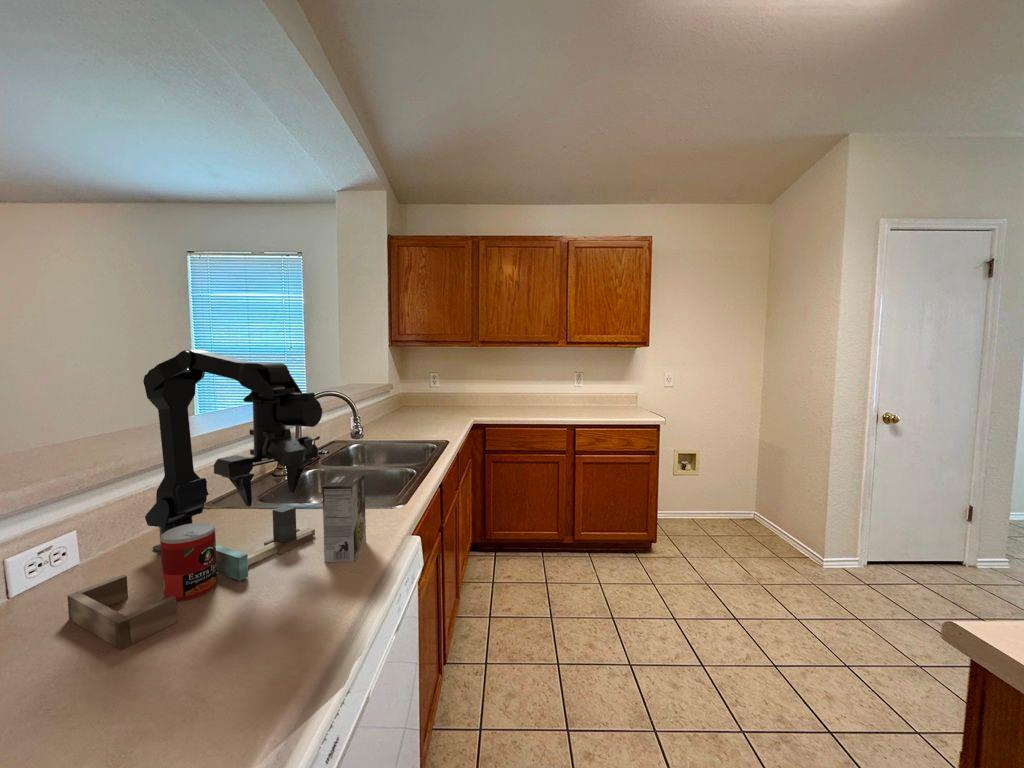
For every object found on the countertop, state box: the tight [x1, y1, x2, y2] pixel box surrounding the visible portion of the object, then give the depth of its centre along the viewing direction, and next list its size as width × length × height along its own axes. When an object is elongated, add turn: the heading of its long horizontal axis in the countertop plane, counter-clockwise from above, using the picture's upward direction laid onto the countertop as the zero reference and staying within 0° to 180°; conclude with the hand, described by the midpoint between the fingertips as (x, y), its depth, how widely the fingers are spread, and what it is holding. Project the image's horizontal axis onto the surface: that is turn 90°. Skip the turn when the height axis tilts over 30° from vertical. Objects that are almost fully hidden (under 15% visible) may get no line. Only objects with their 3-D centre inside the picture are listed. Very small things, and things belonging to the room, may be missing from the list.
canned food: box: [160, 522, 218, 602], centre depth 74 cm, size 8×8×11 cm
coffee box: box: [321, 473, 367, 563], centre depth 88 cm, size 9×6×16 cm
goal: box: [66, 574, 178, 651], centre depth 65 cm, size 16×7×4 cm, turn 65°
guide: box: [263, 528, 314, 556], centre depth 92 cm, size 5×8×2 cm
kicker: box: [216, 504, 316, 582], centre depth 88 cm, size 11×20×8 cm, turn 155°
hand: (271, 499), depth 85 cm, fingers open, 9 cm apart
